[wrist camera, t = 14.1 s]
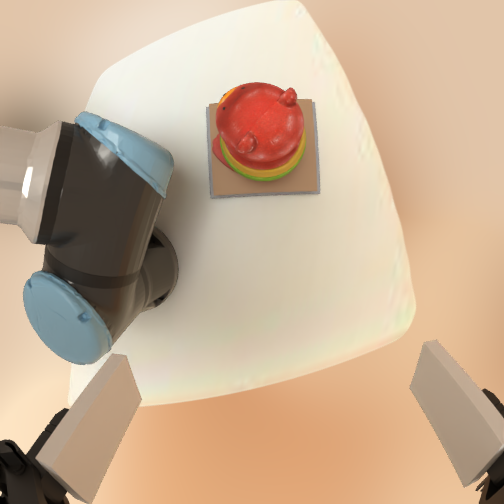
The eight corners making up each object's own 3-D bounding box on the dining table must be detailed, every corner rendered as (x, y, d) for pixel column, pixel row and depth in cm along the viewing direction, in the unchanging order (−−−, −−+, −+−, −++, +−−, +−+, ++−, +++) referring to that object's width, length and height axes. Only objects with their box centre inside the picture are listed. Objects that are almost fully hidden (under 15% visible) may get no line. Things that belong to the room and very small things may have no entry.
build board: (212, 197, 41) (206, 199, 37) (207, 109, 38) (201, 101, 34) (318, 193, 40) (324, 194, 36) (313, 104, 37) (318, 96, 33)
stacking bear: (263, 94, 33) (264, 29, 16) (316, 145, 35) (360, 117, 17) (206, 147, 35) (159, 120, 18) (258, 199, 37) (254, 215, 20)
